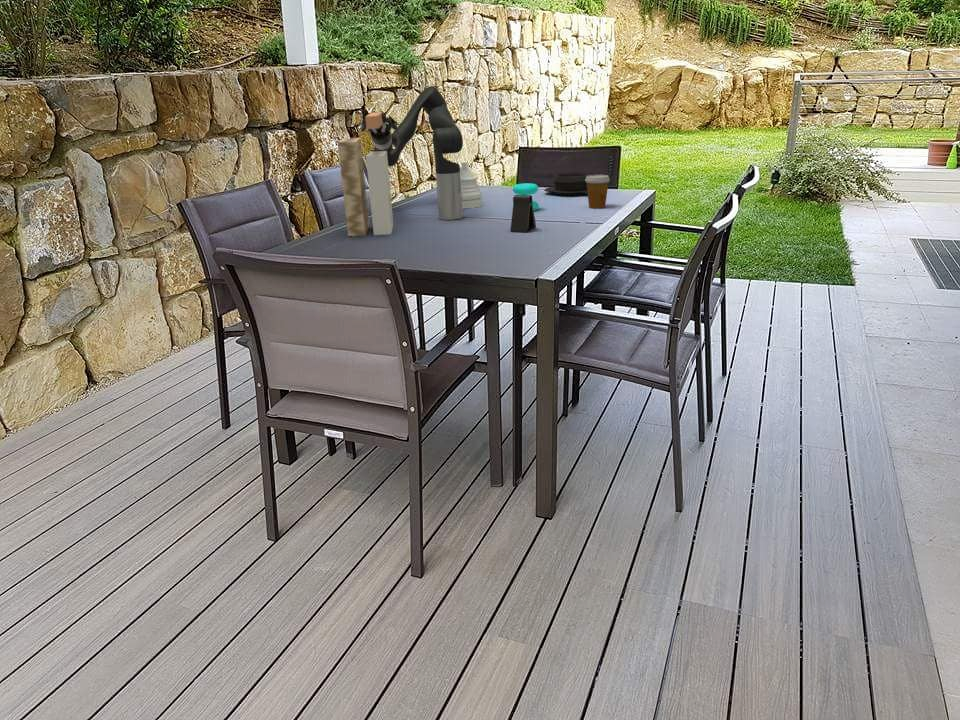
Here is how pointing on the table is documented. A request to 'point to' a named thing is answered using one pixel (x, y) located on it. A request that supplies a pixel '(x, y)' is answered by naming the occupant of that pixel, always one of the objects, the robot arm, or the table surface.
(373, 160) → the grey post
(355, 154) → the oak post
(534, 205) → the donuts
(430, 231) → the table surface
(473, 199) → the honey pot
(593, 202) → the disposable coffee cup
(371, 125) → the terracotta bar
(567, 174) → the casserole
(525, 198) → the door stopper
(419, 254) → the table surface
